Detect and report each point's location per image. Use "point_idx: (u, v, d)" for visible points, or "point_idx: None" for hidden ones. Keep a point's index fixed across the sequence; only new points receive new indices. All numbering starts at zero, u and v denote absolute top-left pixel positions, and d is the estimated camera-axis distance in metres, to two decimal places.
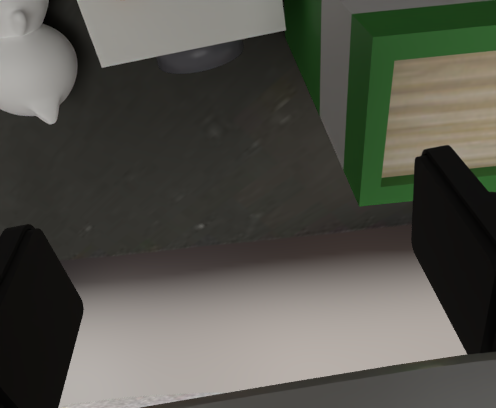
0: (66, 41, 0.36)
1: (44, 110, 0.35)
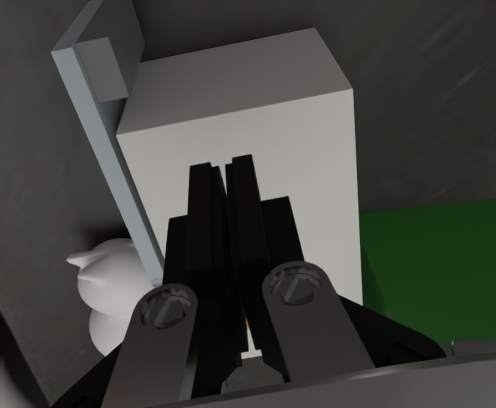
0: None
1: None
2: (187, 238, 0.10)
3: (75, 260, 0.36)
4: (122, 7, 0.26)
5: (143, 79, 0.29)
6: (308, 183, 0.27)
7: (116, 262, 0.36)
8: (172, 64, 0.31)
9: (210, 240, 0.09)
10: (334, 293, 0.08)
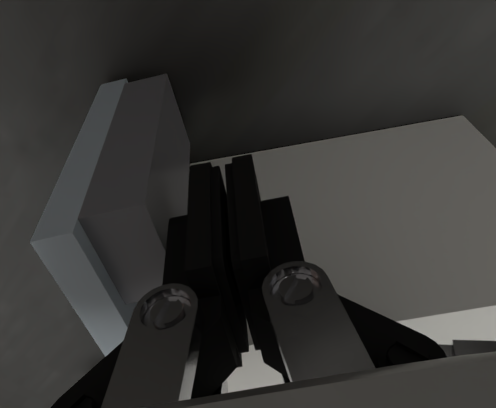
0: None
1: None
2: (187, 238, 0.10)
3: None
4: (159, 108, 0.15)
5: None
6: None
7: None
8: None
9: (210, 240, 0.09)
10: (334, 293, 0.08)
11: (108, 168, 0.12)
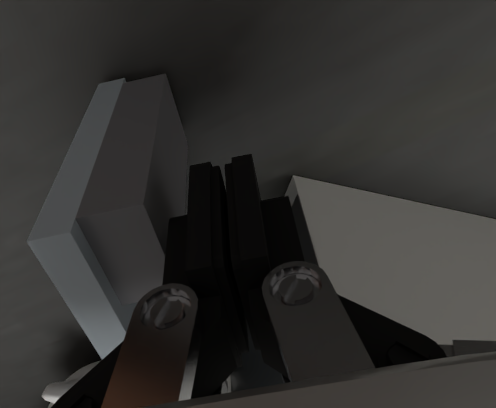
0: None
1: None
2: (187, 238, 0.10)
3: (56, 399, 0.23)
4: (158, 108, 0.15)
5: (320, 219, 0.19)
6: None
7: None
8: (350, 204, 0.21)
9: (210, 240, 0.09)
10: (334, 293, 0.08)
11: (106, 168, 0.12)
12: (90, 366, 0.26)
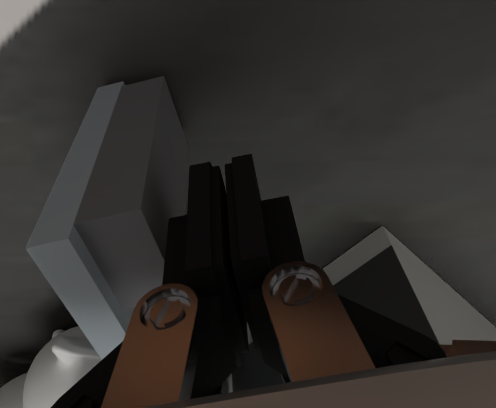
0: None
1: None
2: (187, 238, 0.10)
3: (65, 353, 0.21)
4: (156, 111, 0.15)
5: (411, 276, 0.22)
6: None
7: None
8: (419, 270, 0.24)
9: (210, 240, 0.09)
10: (334, 293, 0.08)
11: (104, 173, 0.12)
12: None
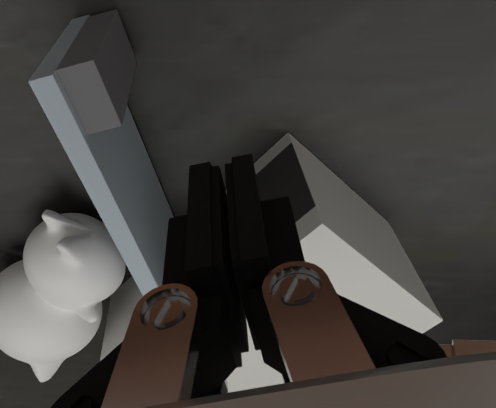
0: (101, 308, 0.35)
1: (46, 372, 0.33)
2: (187, 238, 0.10)
3: (51, 220, 0.29)
4: (109, 24, 0.23)
5: (303, 161, 0.30)
6: None
7: (98, 249, 0.30)
8: (316, 164, 0.32)
9: (210, 240, 0.09)
10: (334, 293, 0.08)
11: (74, 51, 0.21)
12: (72, 213, 0.32)
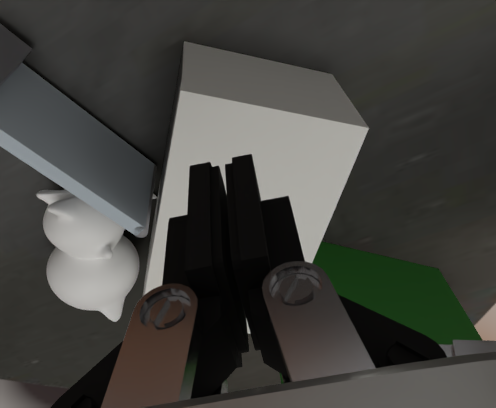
0: (134, 251, 0.42)
1: (112, 312, 0.41)
2: (187, 238, 0.10)
3: (45, 196, 0.38)
4: None
5: (193, 55, 0.33)
6: (303, 188, 0.32)
7: None
8: (216, 54, 0.35)
9: (210, 240, 0.09)
10: (334, 293, 0.08)
11: None
12: None
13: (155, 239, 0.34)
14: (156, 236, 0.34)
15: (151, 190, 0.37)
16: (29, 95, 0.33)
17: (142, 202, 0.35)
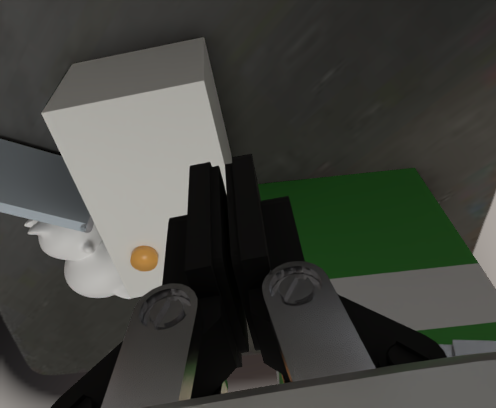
0: None
1: (123, 292, 0.50)
2: (187, 238, 0.10)
3: (29, 223, 0.47)
4: None
5: (72, 75, 0.40)
6: (184, 149, 0.37)
7: None
8: (95, 64, 0.41)
9: (210, 240, 0.09)
10: (334, 293, 0.08)
11: None
12: None
13: (98, 230, 0.41)
14: (97, 227, 0.41)
15: None
16: None
17: None
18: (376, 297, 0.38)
